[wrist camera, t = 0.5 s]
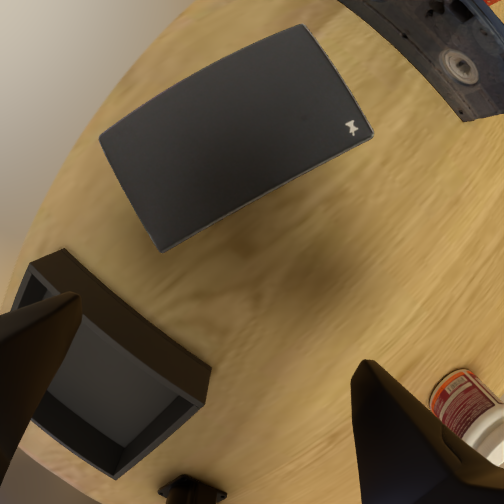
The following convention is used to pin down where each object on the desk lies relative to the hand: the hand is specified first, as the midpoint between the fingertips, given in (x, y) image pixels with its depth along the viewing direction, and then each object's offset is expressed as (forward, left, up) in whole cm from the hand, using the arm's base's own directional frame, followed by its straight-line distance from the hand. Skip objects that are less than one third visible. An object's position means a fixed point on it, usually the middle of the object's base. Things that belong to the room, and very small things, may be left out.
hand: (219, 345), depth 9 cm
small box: (+5, +4, -15) cm, 16 cm away
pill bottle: (+2, -28, -15) cm, 32 cm away
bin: (-18, +3, -15) cm, 23 cm away
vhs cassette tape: (+22, +1, -15) cm, 27 cm away
